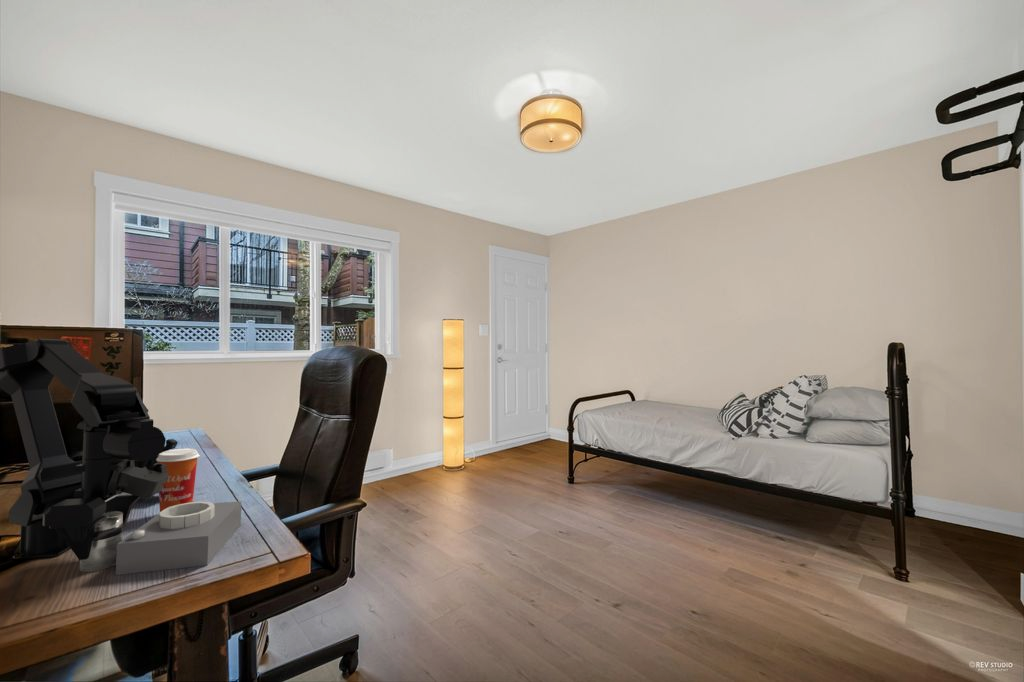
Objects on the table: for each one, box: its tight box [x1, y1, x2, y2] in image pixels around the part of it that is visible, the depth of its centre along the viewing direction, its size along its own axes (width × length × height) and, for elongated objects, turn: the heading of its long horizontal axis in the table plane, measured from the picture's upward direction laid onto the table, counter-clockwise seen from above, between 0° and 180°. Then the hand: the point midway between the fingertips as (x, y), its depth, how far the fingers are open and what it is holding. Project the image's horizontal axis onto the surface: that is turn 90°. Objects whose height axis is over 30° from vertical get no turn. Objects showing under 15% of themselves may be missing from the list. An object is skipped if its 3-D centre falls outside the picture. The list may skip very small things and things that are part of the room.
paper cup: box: [156, 448, 201, 513], centre depth 98 cm, size 8×8×14 cm
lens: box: [79, 511, 124, 573], centre depth 75 cm, size 5×5×8 cm
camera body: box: [115, 500, 242, 576], centre depth 82 cm, size 13×18×7 cm
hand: (101, 546), depth 75 cm, fingers open, 9 cm apart
